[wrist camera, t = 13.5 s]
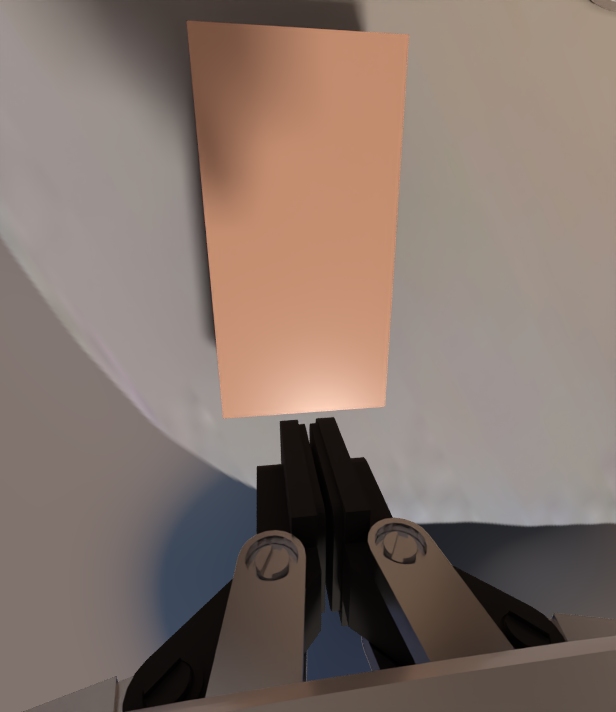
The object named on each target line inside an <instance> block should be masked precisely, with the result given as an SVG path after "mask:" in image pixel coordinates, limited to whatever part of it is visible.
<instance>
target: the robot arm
mask: <svg viewBox="0 0 616 712" xmlns="http://www.w3.org/2000/svg"><path fill="white" fill-rule="evenodd" d="M591 1H592V2H594V3H595V4H596V5H599V6H601V7H603V8H605V9H607V10H610V11H616V0H591ZM280 441H281V464H278V465H266V466H257V535H255V536H254V537H252V538H251V539H249V540H248V541H247V542H246V543H245V545H244V546H243V547H242V548H241V551H240V553H239V556H238V559H237V564H236V568H235V572H234V577H233V579H232V580H231V581H230V582H229V583H228V584H227V585H225V586H224V587H223V588H222V589H221V590H220V591H219V592H218V593H217V594H216V595H215V596H214V597H213V598H212V599H211V600H210V601H209V602H207V604H205V605H204V606H203V607H202V608H201V609H200V610H199V611H198V612H197V613H196V614H195V615H194V616H193V617H192V618H191V619H190V620H189V621H188V622H186V623H185V624H184V625H183V626H182V627H181V628H180V629H179V630H178V631H177V632H176V633H175V634H174V635H173V636H172V637H170V638H169V639H168V640H167V641H166V642H165V643H164V644H163V645H162V646H161V647H160V648H159V649H158V650H157V651H156V652H155V653H154V654H152V656H150V657H149V658H148V659H147V660H146V661H145V663H144V664H143V665H142V666H141V667H140V668H139V669H138V671H137V672H136V673H135V675H134V676H132V677H130V678H127V679H125V680H122V681H119V682H118V680H117V676H115V677H112V678H110V679H107V680H104V681H102V682H99V683H97V684H94V685H91V686H89V687H87V688H84V689H81V690H78V691H76V692H73V693H71V694H68V695H65V696H63V697H60V698H58V699H55V700H52V701H50V702H47V703H44V704H42V705H39V706H36V707H34V708H32V709H29V710H26V711H23V712H616V619H607V618H597V617H587V616H578V615H568V614H559V613H553V616H552V619H550V618H547V617H546V616H545V615H543V614H542V613H540V612H539V611H537V610H536V609H534V608H533V607H531V606H529V605H527V604H525V603H524V602H521V601H520V600H518V599H516V598H514V597H512V596H510V595H508V594H506V593H504V592H502V591H501V590H499V589H497V588H495V587H493V586H491V585H489V584H487V583H485V582H483V581H481V580H479V579H477V578H476V577H474V576H472V575H470V574H468V573H466V572H464V571H462V570H460V569H458V568H456V567H454V566H452V565H451V564H450V562H449V561H448V560H447V558H446V557H445V555H444V554H443V553H442V551H441V550H440V549H439V547H438V546H437V545H436V543H435V542H434V541H433V539H432V538H431V537H430V535H429V534H428V533H427V532H426V531H425V530H424V529H423V528H421V527H420V526H418V525H417V524H415V523H414V522H411V521H408V520H405V519H400V518H393V517H392V515H391V513H390V511H389V508H388V506H387V504H386V502H385V500H384V498H383V495H382V493H381V491H380V489H379V487H378V485H377V482H376V480H375V478H374V476H373V474H372V471H371V469H370V467H369V465H368V463H367V461H366V459H365V458H364V457H361V458H350V456H349V453H348V451H347V448H346V446H345V443H344V441H343V438H342V436H341V433H340V431H339V428H338V426H337V423H336V421H335V418H334V417H331V418H316V423H312V424H310V444H309V440H308V435H307V431H306V427H305V424H298V420H288V421H280ZM325 584H326V589H327V594H328V599H329V605H330V609H331V611H339V615H340V620H341V625H342V626H347V625H348V626H349V627H350V628H351V629H353V630H354V631H355V632H357V633H358V634H359V635H361V636H362V644H363V648H364V651H365V654H366V657H367V659H368V662H369V664H370V667H371V669H372V671H371V672H365V673H358V674H352V675H346V676H339V677H333V678H326V679H320V680H313V681H307V682H306V679H307V649H308V648H309V647H310V645H311V644H312V642H313V641H314V640H315V638H316V637H317V635H318V634H319V632H320V631H321V613H324V612H325Z"/></svg>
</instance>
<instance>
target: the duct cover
mask: <svg viewBox="0 0 616 712" xmlns="http://www.w3.org/2000/svg"><path fill="white" fill-rule="evenodd" d="M187 31H188V42H189V53H190V64H191V75H192V85H193V96H194V107H195V118H196V129H197V140H198V150H199V161H200V172H201V183H202V194H203V205H204V215H205V226H206V237H207V248H208V259H209V270H210V280H211V291H212V302H213V313H214V324H215V335H216V345H217V356H218V367H219V378H220V389H221V400H222V410H223V419H224V418H238V417H251V416H265V415H278V414H292V413H305V412H319V411H332V410H346V409H359V408H373V407H385V398H386V382H387V367H388V351H389V336H390V320H391V305H392V290H393V274H394V259H395V243H396V228H397V212H398V197H399V182H400V166H401V151H402V135H403V120H404V104H405V89H406V74H407V58H408V43H409V35H408V34H392V33H376V32H360V31H345V30H329V29H313V28H297V27H282V26H266V25H250V24H235V23H219V22H203V21H187Z"/></svg>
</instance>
